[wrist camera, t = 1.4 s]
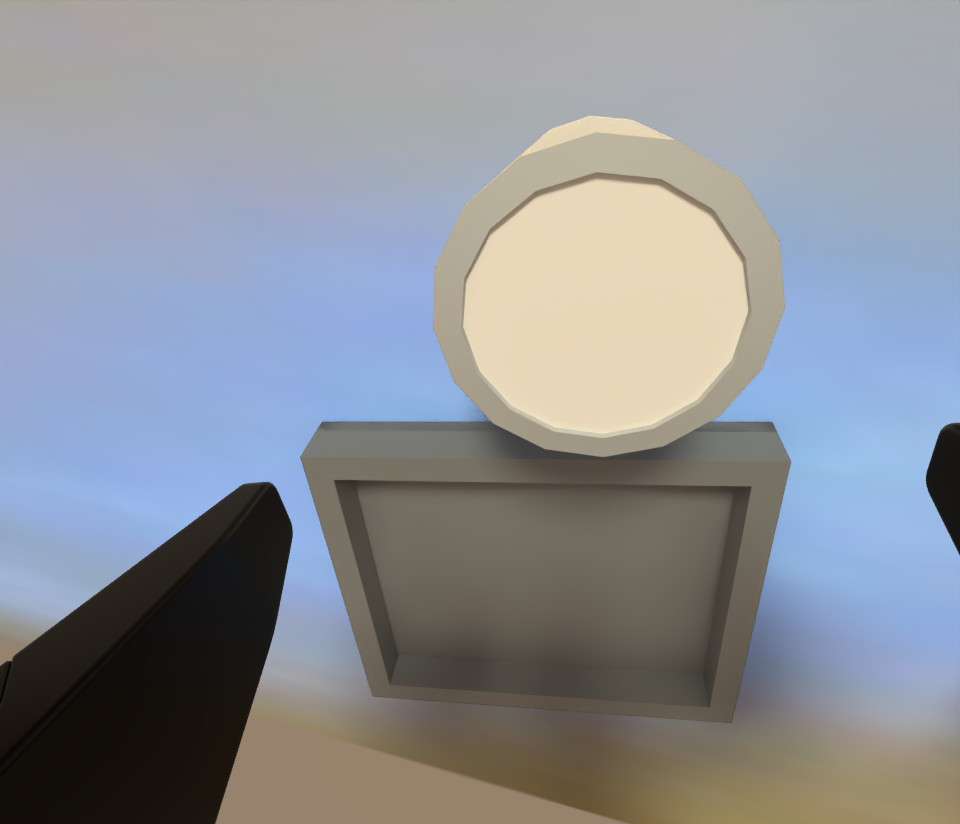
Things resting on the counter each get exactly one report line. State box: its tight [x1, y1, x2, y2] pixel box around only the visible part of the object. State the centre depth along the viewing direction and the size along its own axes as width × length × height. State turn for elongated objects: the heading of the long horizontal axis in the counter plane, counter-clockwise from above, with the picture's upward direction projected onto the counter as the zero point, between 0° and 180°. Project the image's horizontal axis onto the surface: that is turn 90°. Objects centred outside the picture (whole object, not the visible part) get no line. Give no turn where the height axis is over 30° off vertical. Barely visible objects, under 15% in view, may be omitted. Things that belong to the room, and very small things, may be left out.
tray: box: [300, 422, 791, 723], centre depth 25 cm, size 16×14×2 cm
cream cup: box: [433, 116, 785, 457], centre depth 15 cm, size 7×7×7 cm
